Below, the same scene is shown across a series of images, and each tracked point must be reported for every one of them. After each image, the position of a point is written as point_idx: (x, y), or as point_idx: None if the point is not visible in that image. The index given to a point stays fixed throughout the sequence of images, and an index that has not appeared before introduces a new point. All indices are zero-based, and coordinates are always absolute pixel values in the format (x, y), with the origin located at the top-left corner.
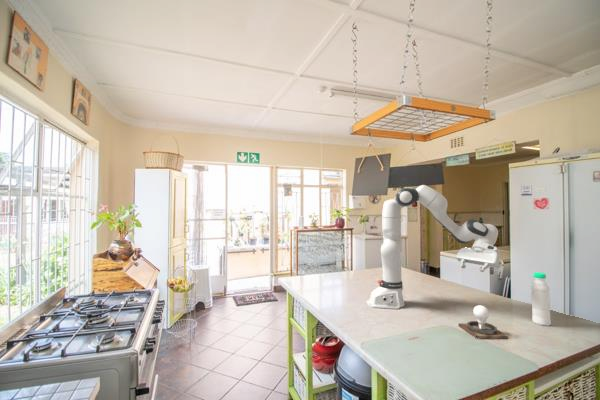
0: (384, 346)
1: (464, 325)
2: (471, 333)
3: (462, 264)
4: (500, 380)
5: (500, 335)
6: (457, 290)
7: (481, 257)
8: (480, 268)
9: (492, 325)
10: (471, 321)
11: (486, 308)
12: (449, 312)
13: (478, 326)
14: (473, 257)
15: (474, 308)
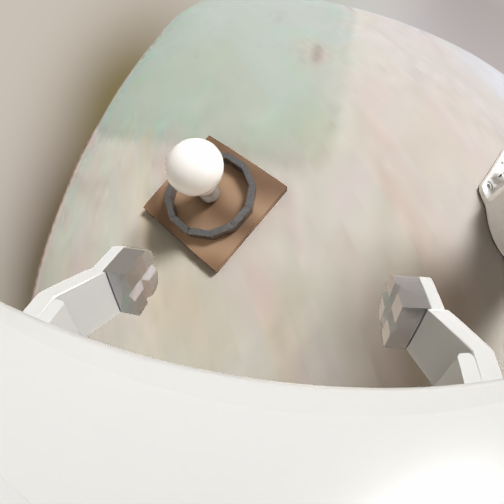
0: (322, 14)
1: (264, 184)
2: (226, 146)
3: (426, 296)
4: (148, 52)
5: (159, 194)
6: None
7: (35, 426)
8: (133, 256)
9: (182, 225)
10: (248, 205)
11: (168, 161)
12: (375, 308)
13: (227, 213)
14: (254, 461)
15: (212, 145)
